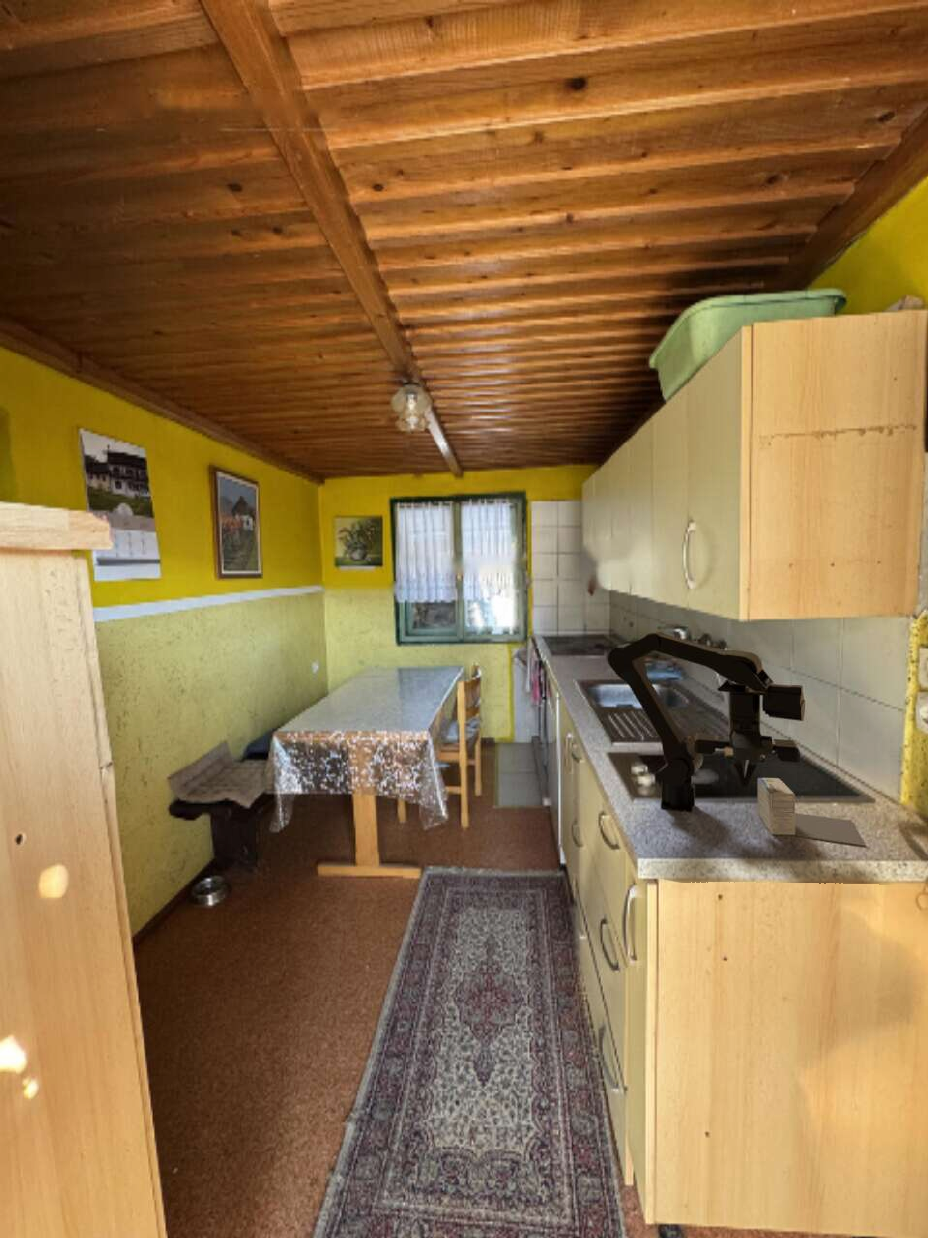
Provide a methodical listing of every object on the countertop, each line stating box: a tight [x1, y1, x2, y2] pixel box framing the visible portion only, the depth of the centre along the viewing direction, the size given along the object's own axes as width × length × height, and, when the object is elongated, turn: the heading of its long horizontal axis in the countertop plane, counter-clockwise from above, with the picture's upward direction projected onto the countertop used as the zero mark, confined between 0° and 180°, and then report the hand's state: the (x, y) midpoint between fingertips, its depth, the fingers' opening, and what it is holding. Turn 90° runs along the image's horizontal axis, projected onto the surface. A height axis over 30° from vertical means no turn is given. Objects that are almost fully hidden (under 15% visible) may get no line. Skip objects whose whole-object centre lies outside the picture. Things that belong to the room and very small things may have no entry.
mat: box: [795, 812, 867, 848], centre depth 101 cm, size 11×10×1 cm
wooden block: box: [757, 777, 796, 836], centre depth 103 cm, size 8×4×9 cm, turn 168°
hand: (744, 786), depth 105 cm, fingers closed
